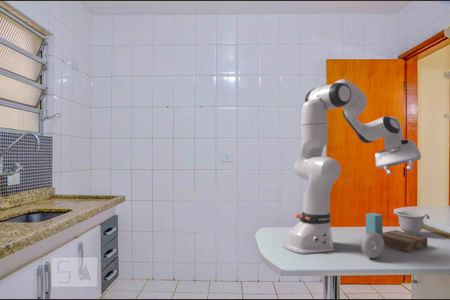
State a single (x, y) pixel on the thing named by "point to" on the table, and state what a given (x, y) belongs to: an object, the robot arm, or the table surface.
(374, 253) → the donut
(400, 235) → the oak base
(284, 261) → the table surface
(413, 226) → the teacup
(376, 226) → the teal block
